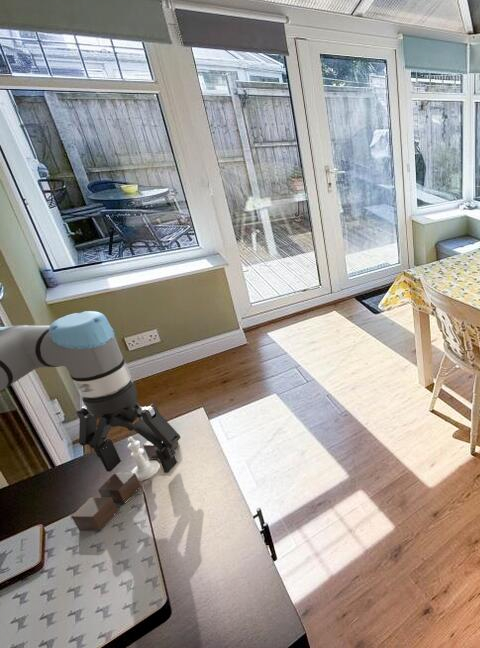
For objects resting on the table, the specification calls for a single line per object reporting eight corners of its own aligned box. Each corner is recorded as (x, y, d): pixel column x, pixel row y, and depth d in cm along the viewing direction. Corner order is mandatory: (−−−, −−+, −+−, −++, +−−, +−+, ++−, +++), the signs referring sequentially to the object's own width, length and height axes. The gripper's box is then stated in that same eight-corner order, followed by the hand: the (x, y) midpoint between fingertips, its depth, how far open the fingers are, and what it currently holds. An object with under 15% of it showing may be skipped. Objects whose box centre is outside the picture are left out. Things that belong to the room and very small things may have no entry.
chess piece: (149, 459, 92) (134, 426, 88) (165, 465, 91) (151, 431, 87) (124, 477, 88) (108, 443, 84) (141, 484, 87) (125, 449, 83)
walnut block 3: (148, 458, 93) (142, 445, 91) (162, 444, 96) (156, 431, 95) (166, 458, 93) (161, 445, 91) (179, 444, 96) (174, 431, 95)
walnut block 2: (105, 503, 83) (97, 489, 81) (122, 485, 86) (115, 472, 85) (125, 504, 83) (118, 490, 81) (141, 486, 86) (135, 472, 85)
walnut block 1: (79, 530, 78) (70, 516, 76) (98, 510, 81) (90, 496, 80) (100, 531, 78) (92, 516, 76) (118, 511, 81) (111, 497, 80)
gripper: (24, 398, 76) (69, 480, 85) (153, 402, 77) (185, 483, 86) (63, 372, 83) (102, 451, 92) (182, 376, 84) (209, 454, 93)
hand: (142, 467), depth 89 cm, fingers open, 11 cm apart
